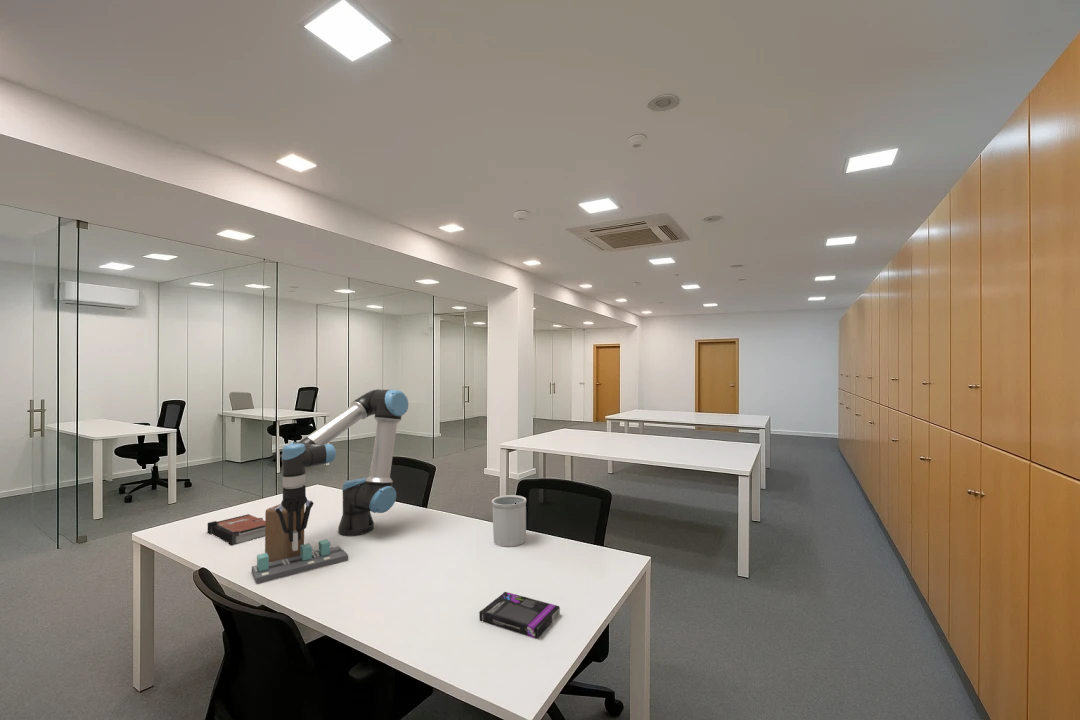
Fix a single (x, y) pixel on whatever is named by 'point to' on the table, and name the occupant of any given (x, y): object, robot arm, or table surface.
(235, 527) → the book
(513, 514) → the utensil holder
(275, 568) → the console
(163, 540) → the table surface
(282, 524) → the robot arm
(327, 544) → the slider
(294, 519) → the wooden block
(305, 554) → the slider
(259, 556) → the slider
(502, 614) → the box
